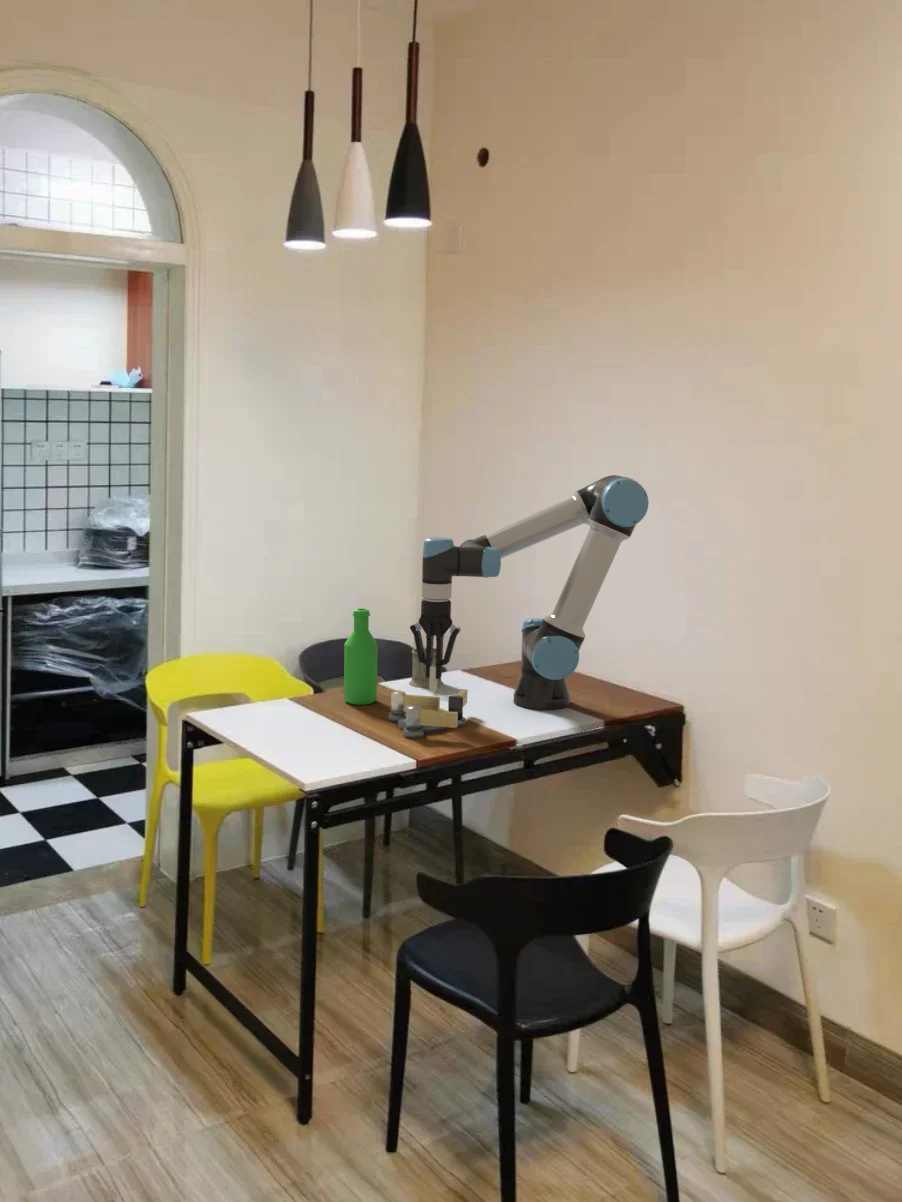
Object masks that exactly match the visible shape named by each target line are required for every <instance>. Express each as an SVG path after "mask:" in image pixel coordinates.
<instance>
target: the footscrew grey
mask: <svg viewBox="0 0 902 1202" xmlns="http://www.w3.org/2000/svg"><path fill="white" fill-rule="evenodd" d="M405 712H406V730H407V731H411V732H417V731H420V730H421V725H427V726H439V727H446V728H452V729H457V728H458V727H457V725H458V712H450V711H448V710H440V711H438V710H425V709H421V707H420V706H416V705H411V706H407V707H406V709H405Z"/></svg>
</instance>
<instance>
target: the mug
mask: <svg viewBox="0 0 902 1202" xmlns="http://www.w3.org/2000/svg"><path fill="white" fill-rule="evenodd" d="M423 647H424V652H425V657H426V646H423ZM411 653H412V672H411V673H412V675H411V676H412V677H411V680H410V681H409V682H408V685H410V686H412V687H414V688H420V689H421V688H422V689H429V680H430V678H426V665H425V664H424V663H420V662H419V658H418V653H417V649H416V648H414V649H412V650H411ZM432 664H436V647H433V663H432ZM443 686H444V681H442V677H441V678H440V679H438V684H437V688H440V687H443Z"/></svg>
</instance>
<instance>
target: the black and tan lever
mask: <svg viewBox="0 0 902 1202" xmlns="http://www.w3.org/2000/svg"><path fill="white" fill-rule="evenodd" d="M467 703H468V689H467V688H464V689H463V688H462V689H461V690H459V692H458V693H457V694H456V695H454V694H453V695H449V696H448V705H447V706H448V707H447V708H448V709H447V711H450V712H458V720H462V719H463V714H464V712H463V711H464V710H463V708H464V707H465V706H466V704H467Z"/></svg>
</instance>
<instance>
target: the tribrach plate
mask: <svg viewBox="0 0 902 1202" xmlns="http://www.w3.org/2000/svg"><path fill="white" fill-rule="evenodd" d="M387 721H389V722H392V723H397V728H398V729H399V730H401V731H402V736H403V737H404V738H405V739H414V740H415V739H421V738H424V737H425V734H432V733H433V734H434V733H439V732H442V731H444V730H446V728H447V727H439V726H427V725H421V730H420V731H417V732H411V731H407V730H406V711H405V714H403V715H401V716H395V715H391V711H390V712H388V713H387ZM465 726H466V718H465V717H463V719H462V720H458V725H457V728H461V727H465Z"/></svg>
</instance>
